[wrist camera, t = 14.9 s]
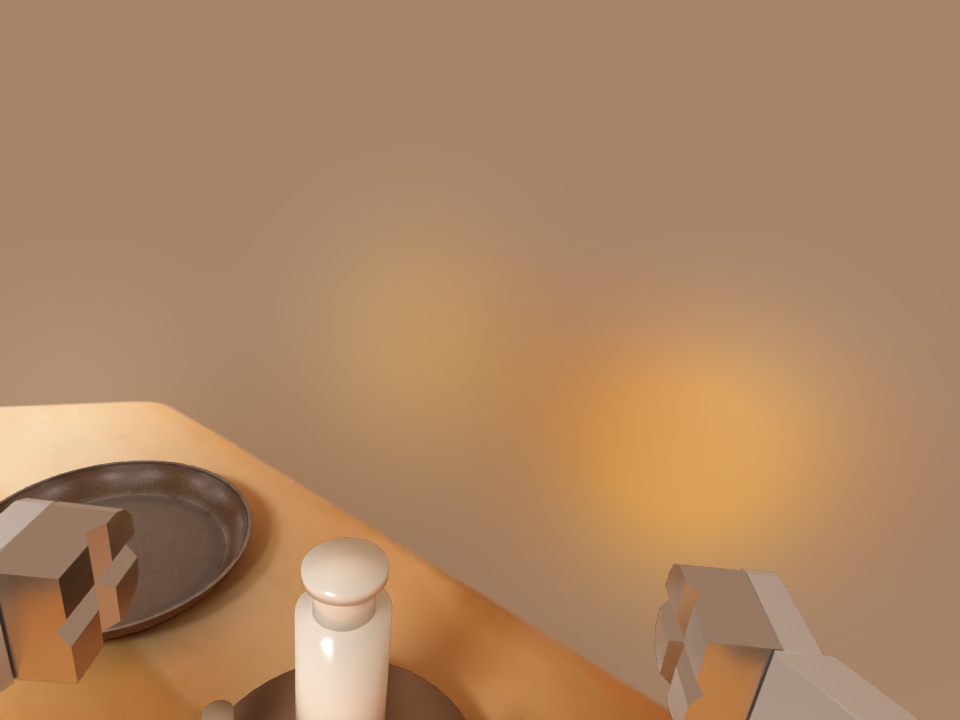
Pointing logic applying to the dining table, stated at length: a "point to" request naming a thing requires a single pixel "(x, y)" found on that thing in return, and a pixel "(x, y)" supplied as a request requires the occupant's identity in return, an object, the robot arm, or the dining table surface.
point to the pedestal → (271, 707)
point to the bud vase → (342, 632)
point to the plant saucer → (161, 529)
